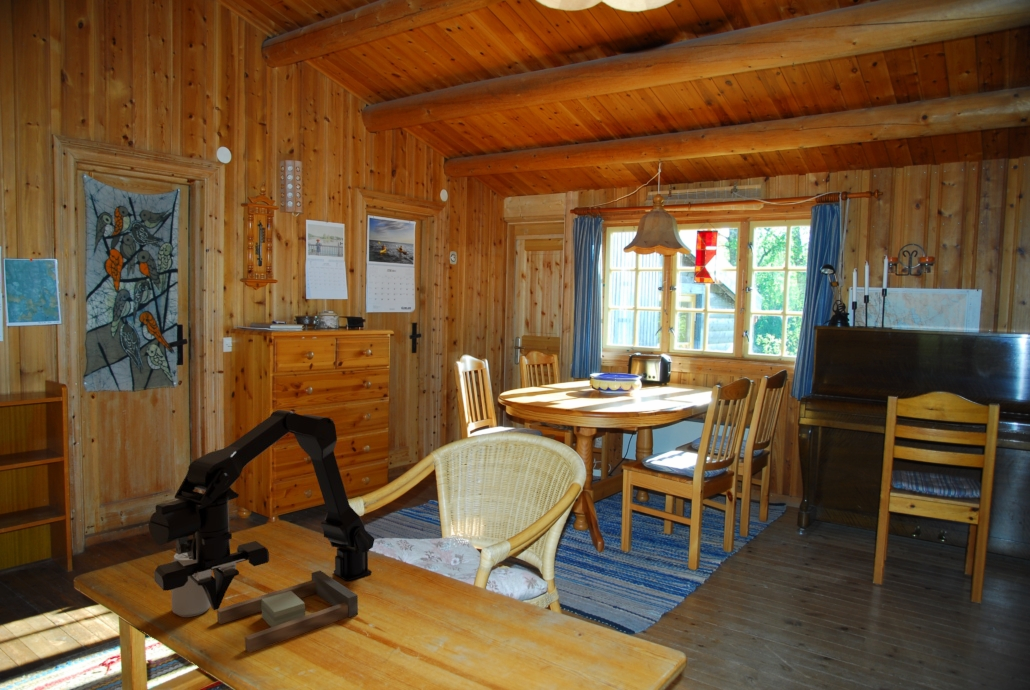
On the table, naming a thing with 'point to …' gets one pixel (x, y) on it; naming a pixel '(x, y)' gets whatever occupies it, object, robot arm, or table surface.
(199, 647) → the table surface
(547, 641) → the table surface
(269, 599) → the block
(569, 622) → the table surface
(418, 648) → the table surface
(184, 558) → the can
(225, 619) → the bay
